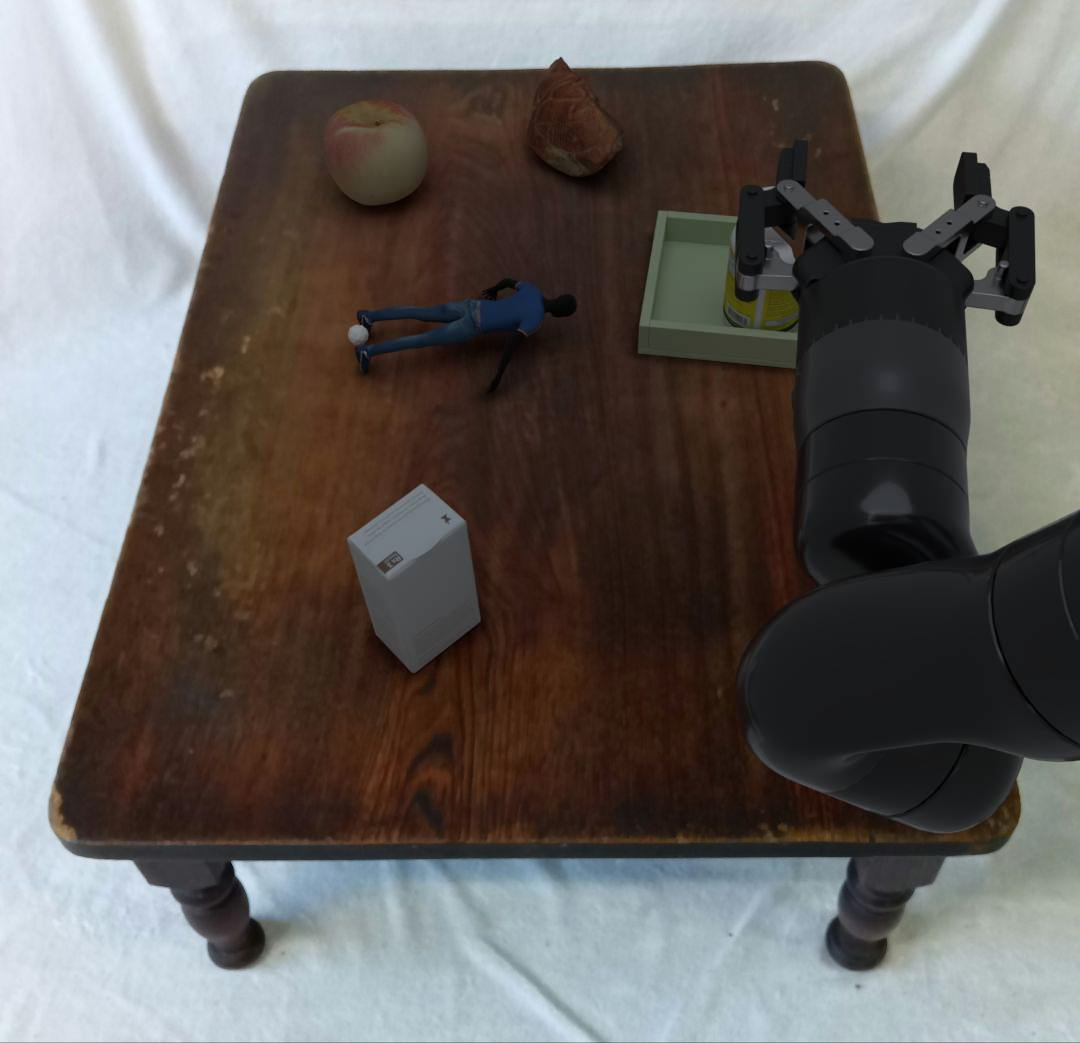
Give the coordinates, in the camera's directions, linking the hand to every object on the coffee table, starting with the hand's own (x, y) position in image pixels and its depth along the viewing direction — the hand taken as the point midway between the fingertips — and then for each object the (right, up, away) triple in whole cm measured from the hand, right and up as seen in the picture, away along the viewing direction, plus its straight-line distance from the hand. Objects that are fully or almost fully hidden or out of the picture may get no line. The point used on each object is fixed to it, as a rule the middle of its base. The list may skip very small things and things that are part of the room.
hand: (880, 159), depth 63 cm
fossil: (-15, +15, +46) cm, 51 cm away
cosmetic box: (-25, -27, +17) cm, 40 cm away
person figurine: (-24, -5, +32) cm, 40 cm away
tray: (-2, -1, +34) cm, 34 cm away
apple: (-32, +10, +44) cm, 55 cm away
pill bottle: (0, -3, +32) cm, 32 cm away
